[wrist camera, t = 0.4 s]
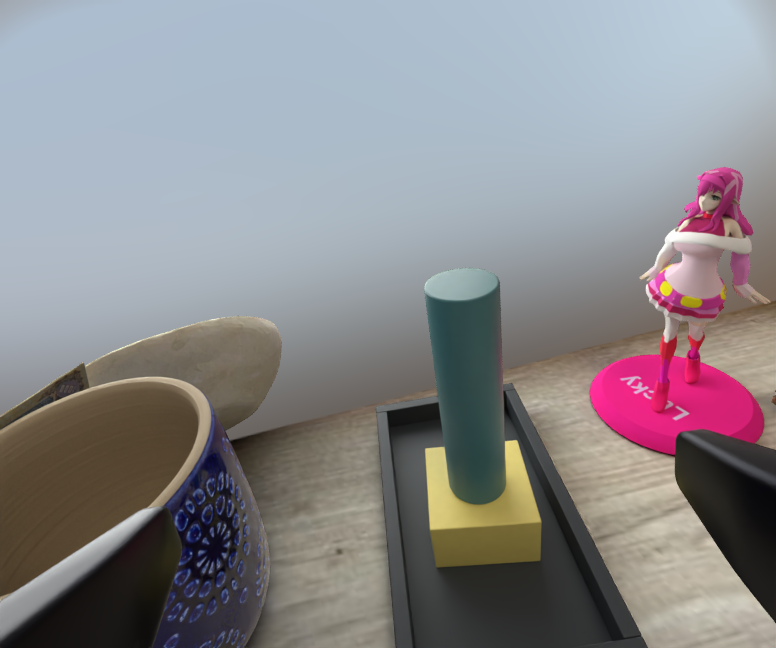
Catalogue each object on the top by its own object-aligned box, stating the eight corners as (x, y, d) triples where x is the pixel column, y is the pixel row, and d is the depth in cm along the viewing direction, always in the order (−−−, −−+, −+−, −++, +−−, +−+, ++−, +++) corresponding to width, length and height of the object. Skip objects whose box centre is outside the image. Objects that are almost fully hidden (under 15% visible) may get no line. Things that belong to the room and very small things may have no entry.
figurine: (559, 388, 32) (569, 177, 25) (661, 344, 35) (699, 140, 27) (682, 485, 25) (752, 217, 17) (803, 419, 27) (911, 159, 19)
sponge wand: (540, 561, 22) (548, 306, 15) (436, 568, 22) (394, 325, 15) (517, 477, 26) (514, 249, 19) (430, 484, 26) (395, 265, 19)
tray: (645, 682, 18) (652, 656, 17) (407, 721, 18) (399, 697, 17) (512, 406, 32) (512, 382, 31) (380, 428, 32) (375, 405, 31)
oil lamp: (-149, 561, 20) (-168, 456, 21) (50, 527, 33) (31, 464, 35) (291, 356, 25) (256, 280, 26) (310, 399, 38) (285, 348, 39)
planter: (1, 814, 17) (-257, 680, 11) (108, 549, 26) (-6, 405, 21) (288, 733, 18) (177, 570, 12) (292, 504, 27) (231, 352, 22)
